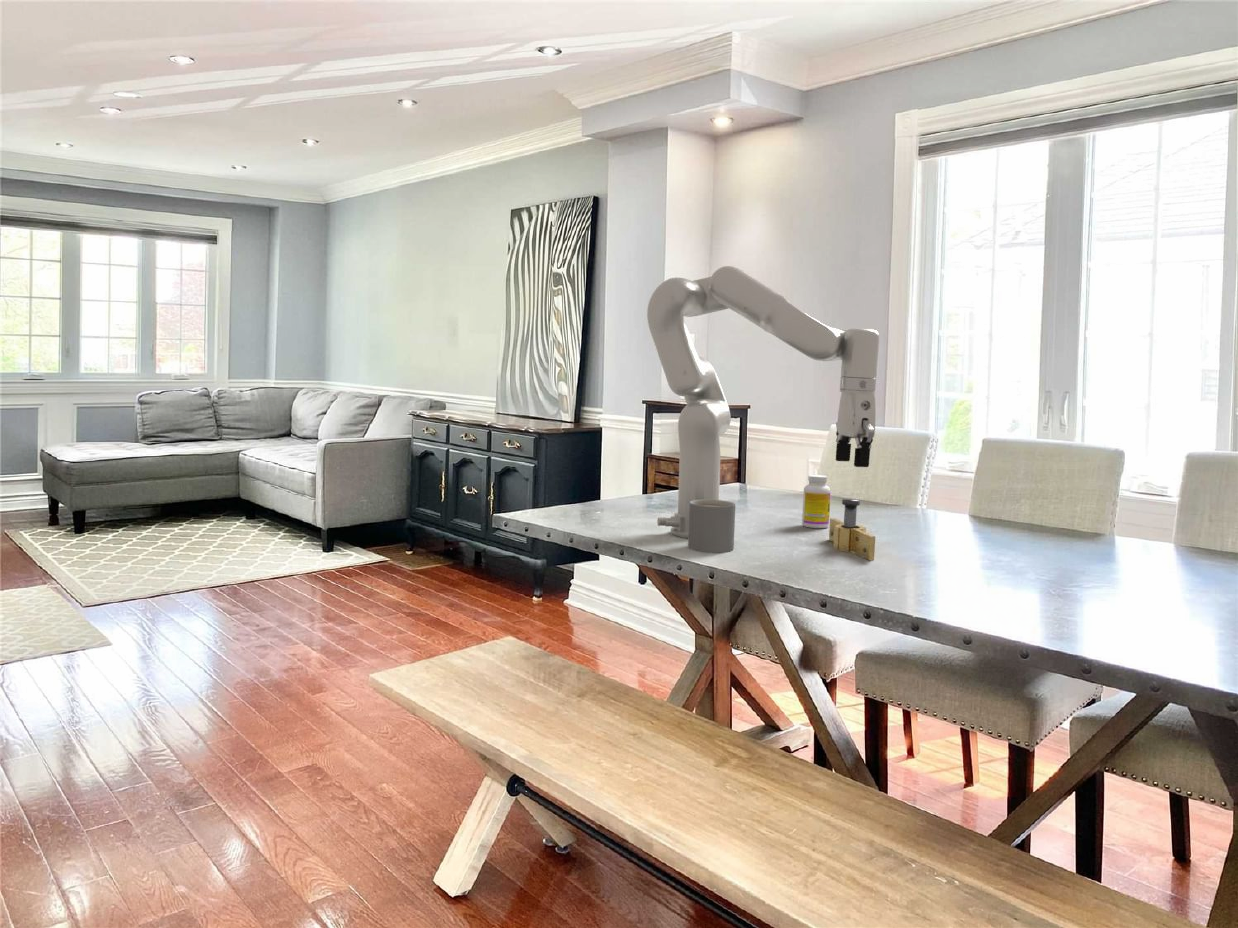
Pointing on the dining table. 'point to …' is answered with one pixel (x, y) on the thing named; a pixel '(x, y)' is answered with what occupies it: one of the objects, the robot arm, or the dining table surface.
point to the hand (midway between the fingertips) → (851, 463)
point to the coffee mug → (711, 526)
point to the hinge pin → (850, 512)
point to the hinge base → (854, 541)
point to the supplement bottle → (816, 502)
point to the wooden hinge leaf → (832, 525)
